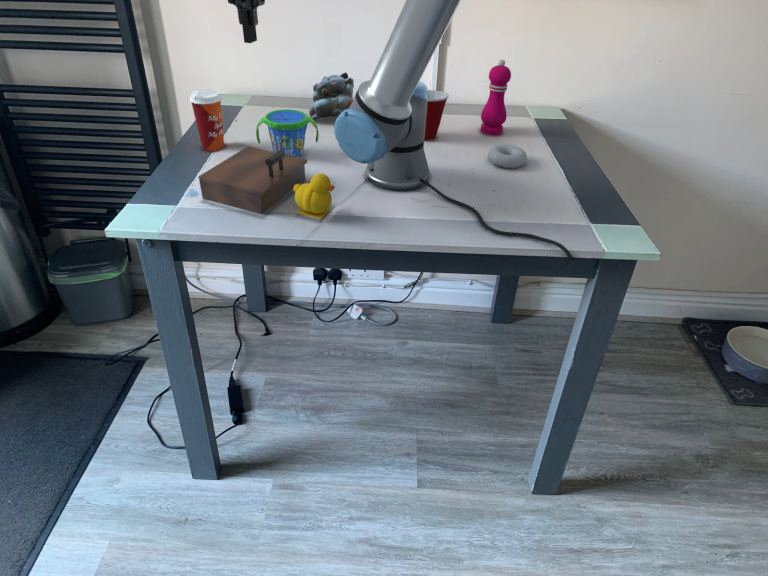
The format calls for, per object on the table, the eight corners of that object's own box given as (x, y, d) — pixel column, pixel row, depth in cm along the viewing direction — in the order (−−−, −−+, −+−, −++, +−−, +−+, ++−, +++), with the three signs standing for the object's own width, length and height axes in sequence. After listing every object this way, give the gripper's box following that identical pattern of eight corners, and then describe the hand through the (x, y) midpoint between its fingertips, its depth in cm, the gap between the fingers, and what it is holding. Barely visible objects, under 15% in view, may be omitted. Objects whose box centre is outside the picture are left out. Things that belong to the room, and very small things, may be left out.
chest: (305, 182, 132) (304, 161, 129) (262, 217, 119) (259, 195, 115) (250, 169, 137) (248, 149, 134) (203, 201, 123) (199, 179, 120)
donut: (530, 160, 147) (494, 151, 150) (533, 148, 145) (497, 138, 148) (518, 174, 140) (481, 164, 143) (520, 161, 138) (483, 151, 141)
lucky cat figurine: (300, 120, 164) (298, 71, 162) (324, 125, 174) (323, 78, 172) (342, 115, 156) (340, 63, 154) (365, 120, 166) (364, 72, 164)
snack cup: (320, 146, 149) (318, 109, 143) (318, 163, 141) (316, 124, 134) (261, 146, 148) (257, 108, 142) (255, 163, 140) (251, 123, 134)
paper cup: (220, 154, 143) (212, 100, 135) (192, 151, 144) (182, 96, 136) (233, 143, 149) (226, 90, 141) (206, 139, 150) (197, 87, 142)
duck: (288, 215, 120) (284, 173, 114) (302, 203, 124) (300, 162, 118) (327, 225, 117) (325, 183, 111) (340, 212, 121) (339, 171, 115)
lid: (307, 162, 129) (306, 141, 126) (262, 196, 115) (260, 173, 112) (248, 149, 134) (246, 128, 131) (199, 179, 120) (194, 157, 117)
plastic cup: (435, 127, 162) (439, 85, 155) (450, 141, 154) (455, 98, 147) (400, 130, 160) (403, 88, 152) (414, 145, 151) (417, 101, 144)
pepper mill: (509, 133, 161) (521, 61, 149) (490, 138, 158) (501, 64, 146) (491, 125, 166) (502, 54, 154) (473, 129, 162) (483, 58, 150)
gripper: (275, -91, 107) (286, 41, 121) (218, -94, 110) (234, 34, 124) (254, -89, 101) (267, 49, 115) (194, -92, 105) (214, 41, 119)
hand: (250, 41), depth 120 cm, fingers closed
